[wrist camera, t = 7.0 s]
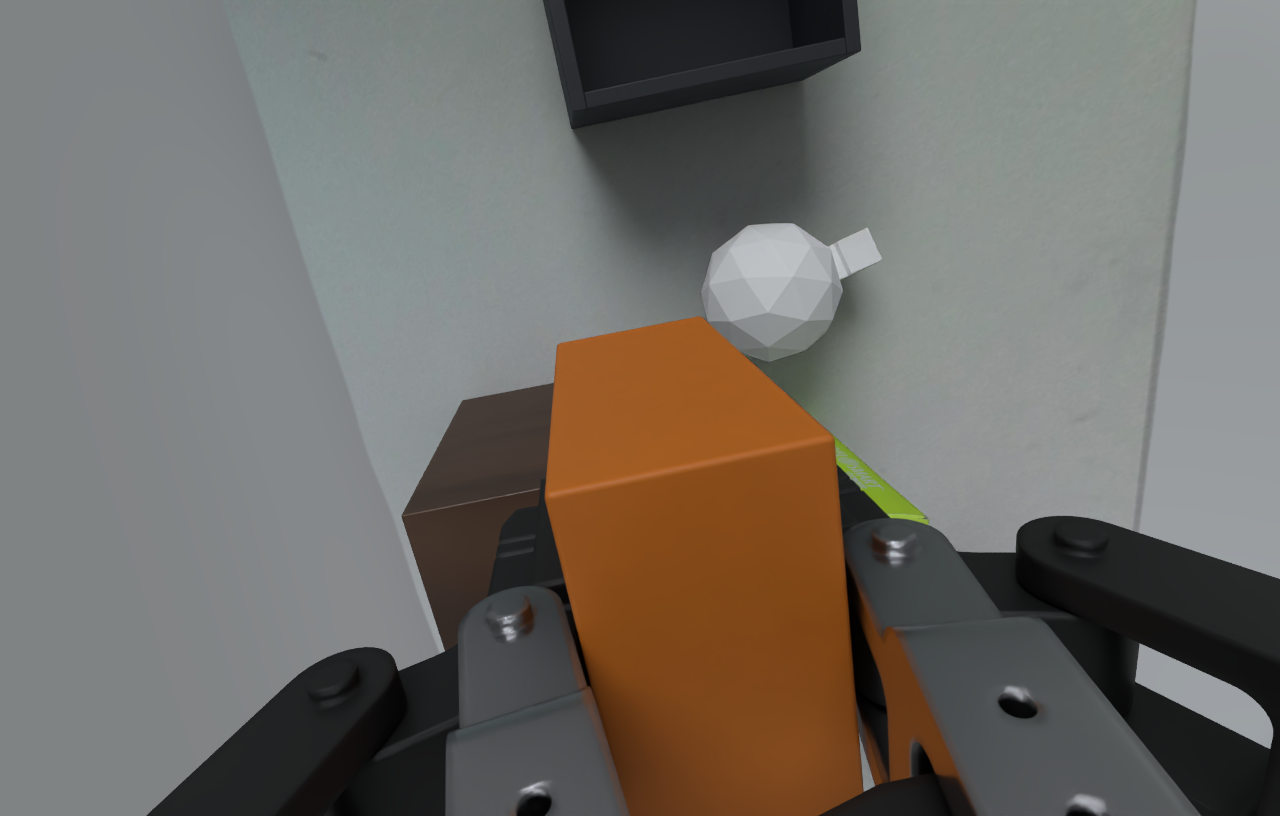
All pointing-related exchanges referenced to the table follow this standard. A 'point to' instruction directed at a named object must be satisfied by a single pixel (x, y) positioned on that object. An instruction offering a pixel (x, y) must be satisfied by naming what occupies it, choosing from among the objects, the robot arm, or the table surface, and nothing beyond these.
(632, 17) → the trash can
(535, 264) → the table surface
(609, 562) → the block
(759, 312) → the perfume bottle
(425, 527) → the block
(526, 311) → the table surface
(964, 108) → the table surface
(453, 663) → the robot arm
